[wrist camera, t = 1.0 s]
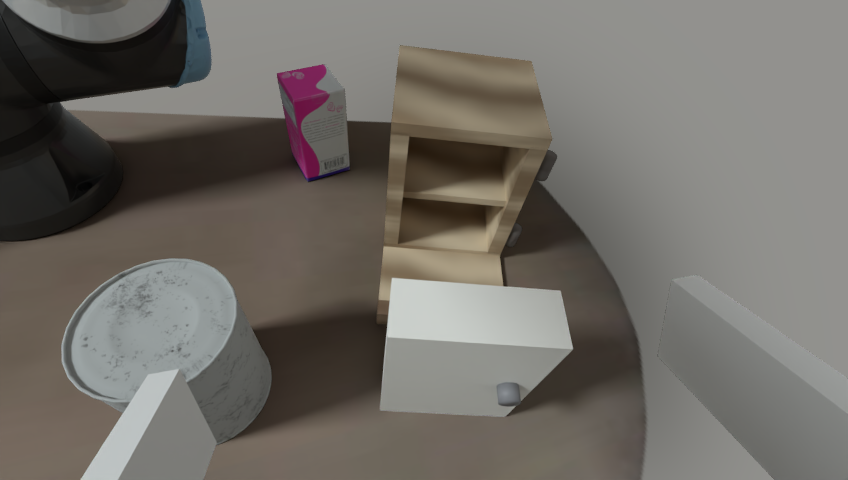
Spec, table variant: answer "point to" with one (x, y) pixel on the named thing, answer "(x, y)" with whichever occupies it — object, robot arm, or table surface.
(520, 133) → the cabinet
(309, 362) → the table surface
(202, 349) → the grey cylinder
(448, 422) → the table surface
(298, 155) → the supplement box
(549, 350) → the door
